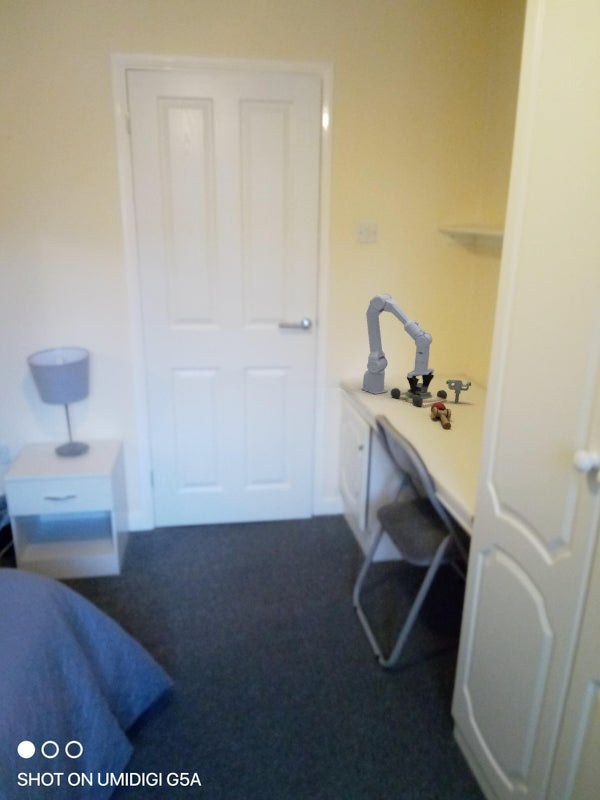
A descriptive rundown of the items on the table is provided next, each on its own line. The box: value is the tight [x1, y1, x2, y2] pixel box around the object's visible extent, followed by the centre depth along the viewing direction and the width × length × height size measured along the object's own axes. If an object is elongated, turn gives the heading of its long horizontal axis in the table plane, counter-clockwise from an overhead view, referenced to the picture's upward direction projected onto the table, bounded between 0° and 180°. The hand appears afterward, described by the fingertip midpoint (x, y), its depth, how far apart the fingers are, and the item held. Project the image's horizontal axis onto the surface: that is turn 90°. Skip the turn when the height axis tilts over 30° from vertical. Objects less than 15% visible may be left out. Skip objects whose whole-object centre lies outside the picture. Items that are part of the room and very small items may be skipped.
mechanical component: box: [445, 379, 472, 404], centre depth 257 cm, size 3×10×10 cm, turn 78°
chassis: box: [390, 382, 448, 409], centre depth 262 cm, size 20×17×4 cm
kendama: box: [430, 402, 452, 430], centre depth 235 cm, size 8×6×18 cm
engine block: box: [413, 383, 429, 396], centre depth 261 cm, size 5×4×5 cm
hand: (419, 391), depth 262 cm, fingers open, 7 cm apart
